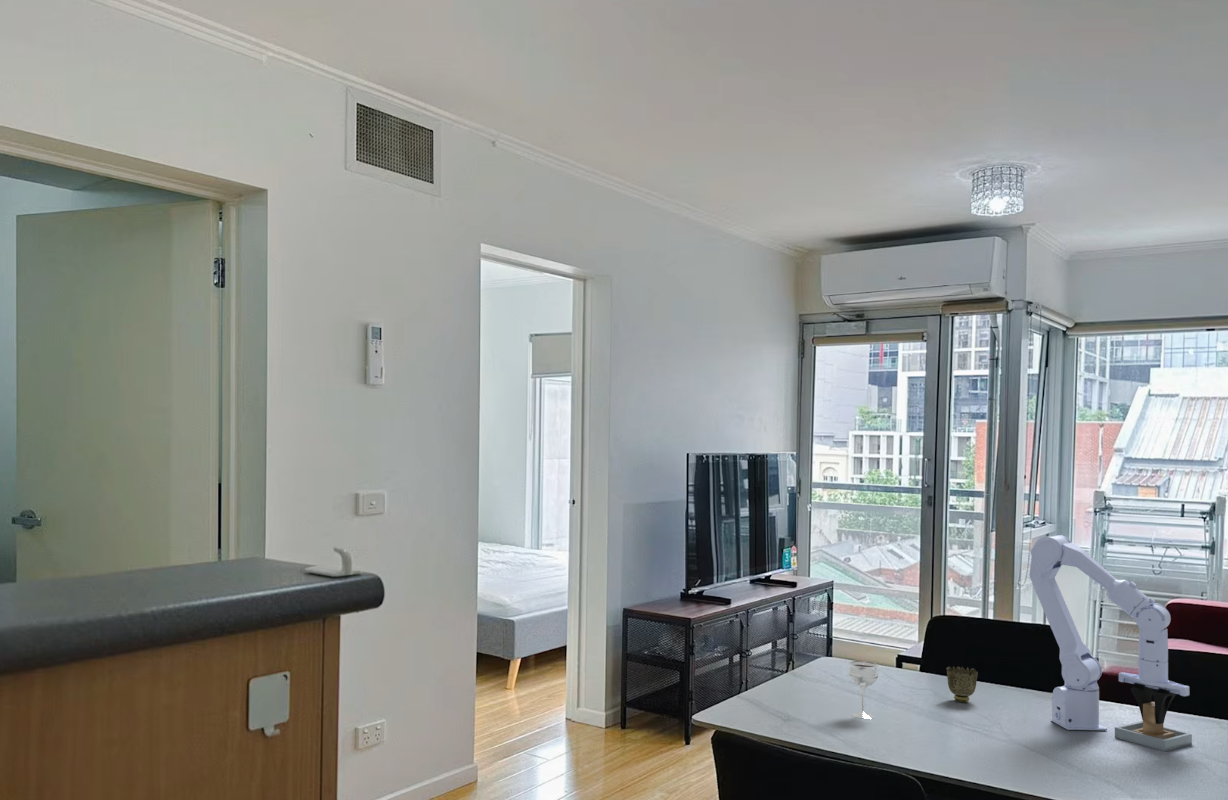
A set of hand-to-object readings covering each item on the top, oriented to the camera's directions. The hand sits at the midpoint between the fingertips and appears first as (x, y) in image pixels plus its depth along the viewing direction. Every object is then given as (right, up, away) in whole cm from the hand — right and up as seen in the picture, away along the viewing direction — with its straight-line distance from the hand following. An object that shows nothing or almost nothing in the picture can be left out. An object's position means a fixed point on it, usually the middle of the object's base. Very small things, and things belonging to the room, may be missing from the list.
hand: (1153, 721), depth 211 cm
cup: (-32, -5, +29) cm, 43 cm away
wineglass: (-61, -3, +13) cm, 63 cm away
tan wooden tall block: (0, -3, 0) cm, 3 cm away
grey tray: (0, -4, 0) cm, 4 cm away
